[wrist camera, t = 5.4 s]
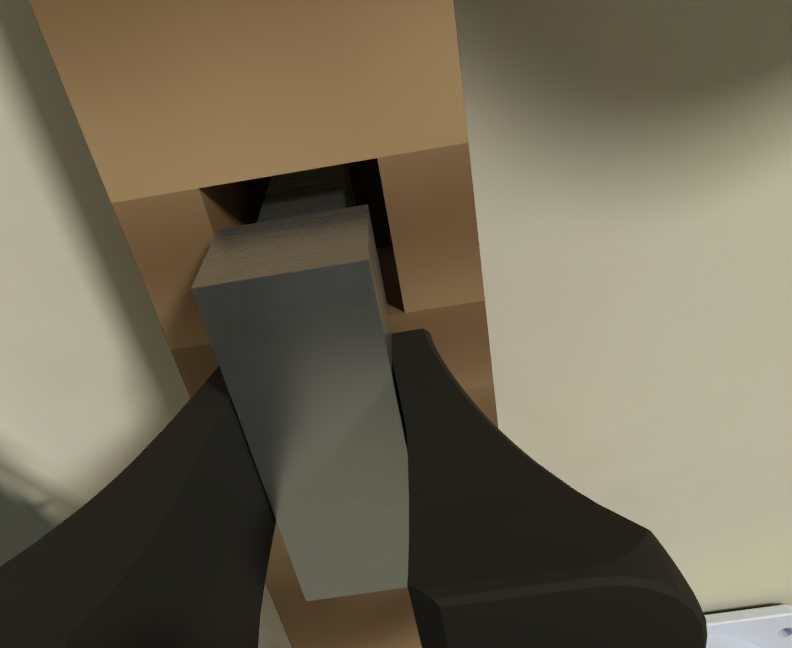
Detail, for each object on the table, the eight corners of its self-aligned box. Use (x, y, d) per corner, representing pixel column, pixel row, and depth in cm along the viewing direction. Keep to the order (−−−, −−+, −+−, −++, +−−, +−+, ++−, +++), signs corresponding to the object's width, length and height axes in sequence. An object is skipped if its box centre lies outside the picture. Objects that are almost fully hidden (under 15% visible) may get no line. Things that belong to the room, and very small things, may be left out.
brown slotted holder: (504, 577, 21) (523, 668, 19) (317, 603, 22) (311, 695, 19) (392, -389, 10) (402, -491, 7) (-3, -306, 10) (-124, -375, 8)
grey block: (415, 403, 18) (434, 583, 13) (321, 417, 18) (305, 601, 13) (366, 140, 14) (368, 259, 9) (248, 160, 14) (191, 288, 9)
